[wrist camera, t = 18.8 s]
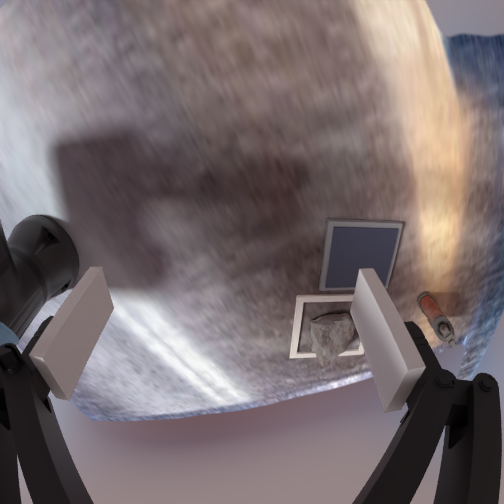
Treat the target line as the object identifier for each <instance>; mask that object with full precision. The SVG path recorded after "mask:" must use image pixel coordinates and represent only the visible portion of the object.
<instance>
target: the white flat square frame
mask: <svg viewBox="0 0 504 504" xmlns="http://www.w3.org/2000/svg"><path fill="white" fill-rule="evenodd" d="M353 297H354V294H316V295H297V297H296V306H295V315H294V324H293V333H292V341H291V349H290V358H310V357H316V354H315V352H313V351H311V352H297V348H298V341H299V334H300V326H301V319H302V311H303V303H304V302H339V301H353ZM363 353H364V349H363V346H362V343H361V342H360V345H359V349H348V350H345V352H344V353H342V354H340V355H339V356H345V355H358V354H363Z"/></svg>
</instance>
